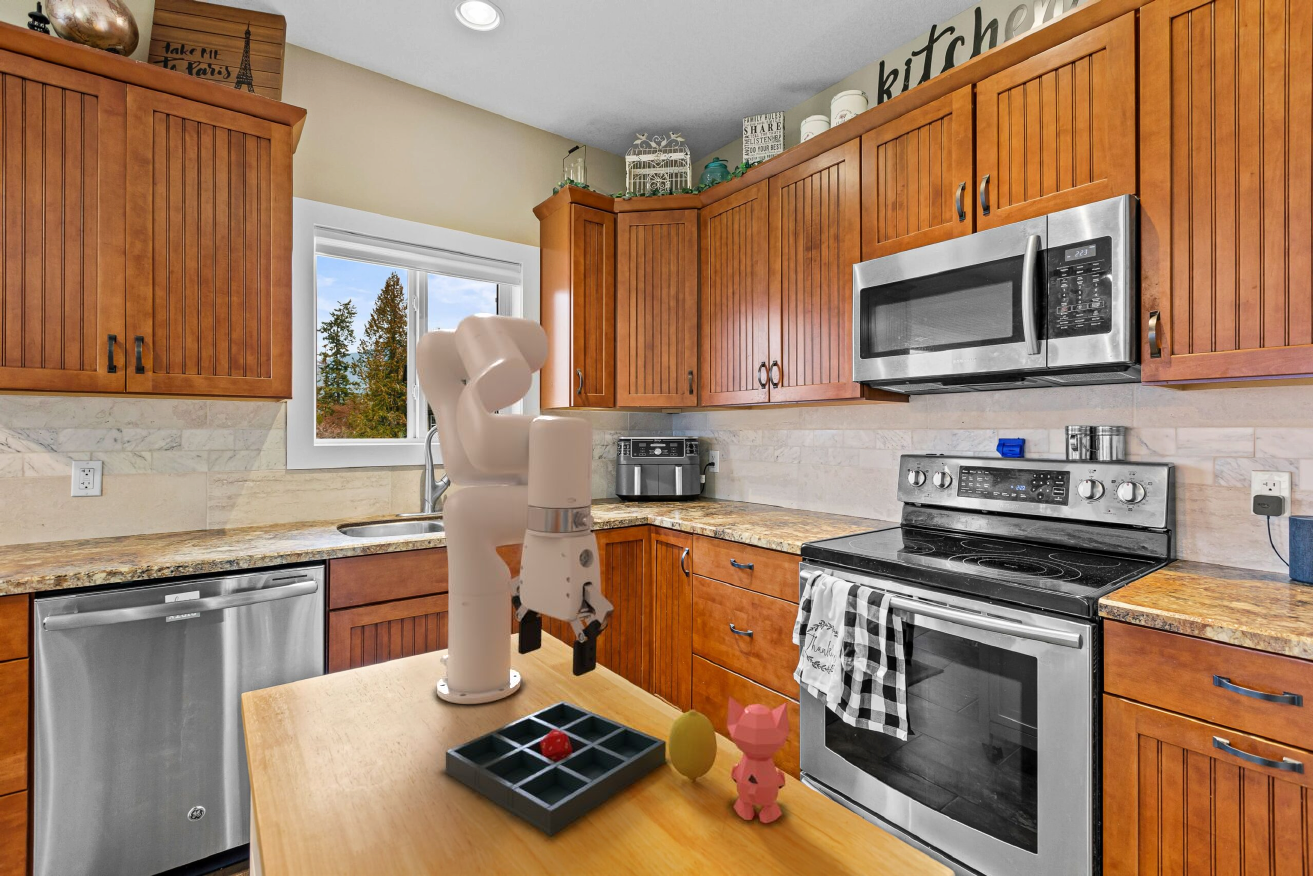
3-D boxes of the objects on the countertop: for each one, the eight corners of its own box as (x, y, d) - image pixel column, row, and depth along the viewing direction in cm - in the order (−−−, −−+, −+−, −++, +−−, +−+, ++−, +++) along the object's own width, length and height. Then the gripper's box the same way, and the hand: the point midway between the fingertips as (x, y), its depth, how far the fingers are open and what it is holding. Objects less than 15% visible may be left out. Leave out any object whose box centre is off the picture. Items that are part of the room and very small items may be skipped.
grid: (445, 772, 72) (445, 751, 72) (562, 718, 86) (562, 700, 86) (550, 837, 60) (550, 811, 60) (665, 761, 75) (666, 741, 75)
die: (529, 756, 72) (550, 730, 72) (539, 742, 75) (558, 717, 75) (553, 777, 72) (574, 751, 71) (561, 761, 75) (581, 736, 75)
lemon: (713, 796, 67) (714, 723, 67) (664, 790, 68) (664, 718, 69) (718, 770, 73) (719, 702, 73) (672, 765, 74) (673, 698, 74)
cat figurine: (792, 800, 67) (793, 689, 67) (790, 840, 60) (791, 716, 60) (727, 791, 68) (728, 683, 69) (718, 828, 62) (719, 708, 62)
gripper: (634, 525, 71) (630, 671, 71) (536, 509, 82) (533, 636, 82) (587, 533, 65) (584, 692, 66) (489, 514, 76) (486, 651, 76)
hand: (556, 661), depth 74 cm, fingers open, 9 cm apart
